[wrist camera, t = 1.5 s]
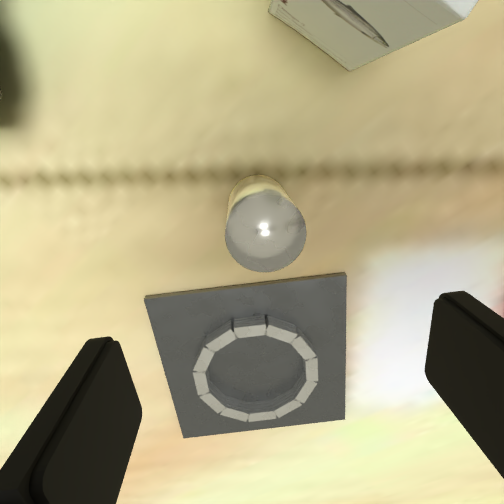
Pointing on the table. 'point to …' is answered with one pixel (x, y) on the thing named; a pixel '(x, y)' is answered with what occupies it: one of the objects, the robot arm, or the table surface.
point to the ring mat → (254, 353)
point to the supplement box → (368, 24)
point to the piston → (263, 225)
